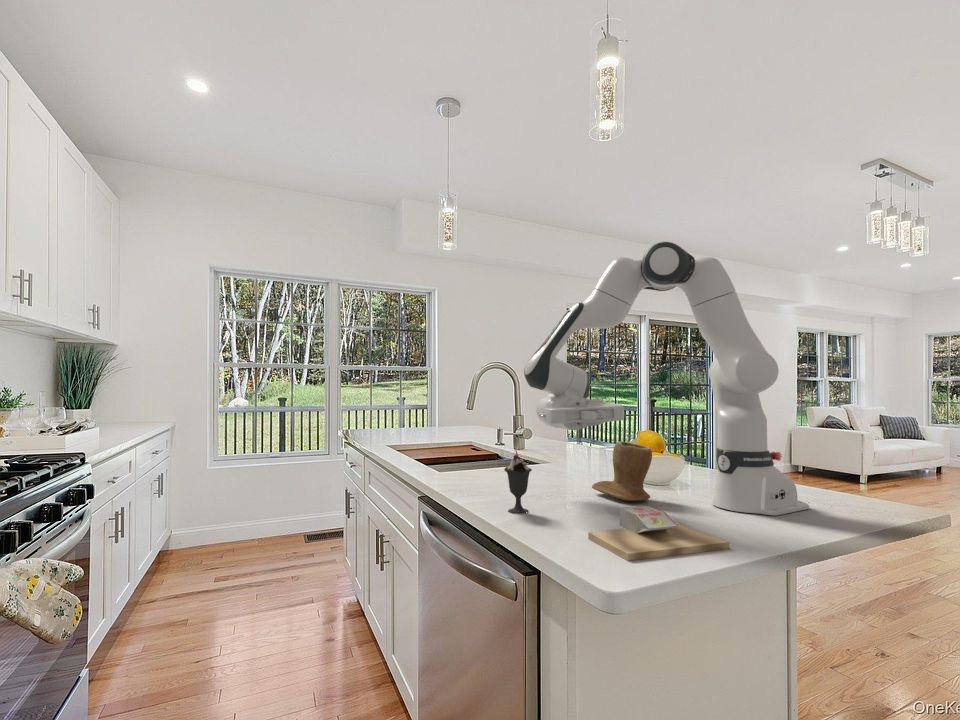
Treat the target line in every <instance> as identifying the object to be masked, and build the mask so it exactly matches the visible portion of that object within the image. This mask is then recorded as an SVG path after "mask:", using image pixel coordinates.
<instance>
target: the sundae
mask: <svg viewBox="0 0 960 720" xmlns="http://www.w3.org/2000/svg"><path fill="white" fill-rule="evenodd" d="M513 449H514V451H515V454H514V455H513V458H512V459H511V460H510V463H509V466H505V467H504V472H506V473H507V478H508V479H507V480H508V487H509V492H510V493H511V494H512V495H513V497H515V505H514V506H513V507H512V508H509V509H508V511H507V512H508V513H510V512H511V513H510V514H514V513H525V514H527V513H526V512H528V511H529V510H528V509H527V508H524V507H523V505H522V501H521V500H522V497H523V496H524V495H525V494H526V493H527V490H528V485H529V477H530V472H531V471H533V469H532V468H530V467H528V465H526V463H525V461H524V459H523V458H522V457H519V455H518V451H517V449H516V447H514V448H513ZM528 513H529V512H528Z"/></svg>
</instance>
